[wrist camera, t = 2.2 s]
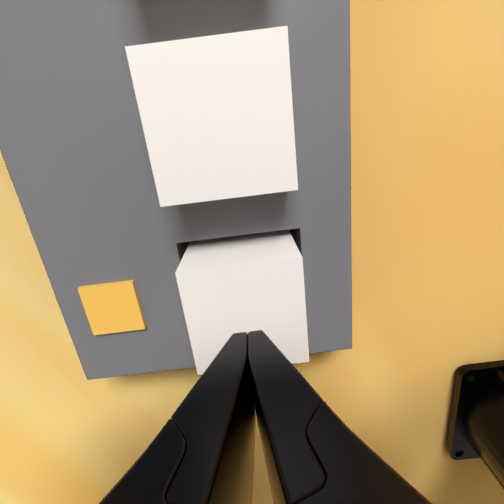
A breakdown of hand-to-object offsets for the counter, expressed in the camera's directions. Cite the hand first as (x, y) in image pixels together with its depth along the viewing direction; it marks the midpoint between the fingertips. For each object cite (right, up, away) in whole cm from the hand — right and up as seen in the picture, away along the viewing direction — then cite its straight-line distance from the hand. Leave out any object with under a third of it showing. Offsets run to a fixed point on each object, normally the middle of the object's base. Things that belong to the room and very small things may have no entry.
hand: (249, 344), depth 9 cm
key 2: (0, +1, +4) cm, 4 cm away
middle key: (-1, +7, +2) cm, 7 cm away
